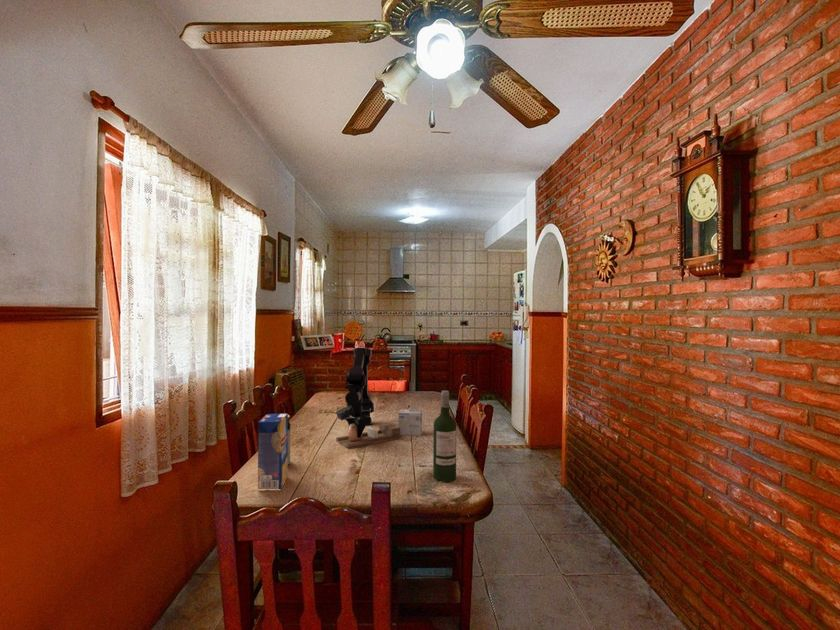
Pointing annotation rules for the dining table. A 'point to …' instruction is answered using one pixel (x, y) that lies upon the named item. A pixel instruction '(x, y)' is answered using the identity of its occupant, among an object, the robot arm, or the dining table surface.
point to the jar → (353, 433)
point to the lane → (384, 434)
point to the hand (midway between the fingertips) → (355, 435)
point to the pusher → (372, 432)
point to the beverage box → (272, 451)
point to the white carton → (410, 422)
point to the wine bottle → (444, 443)
